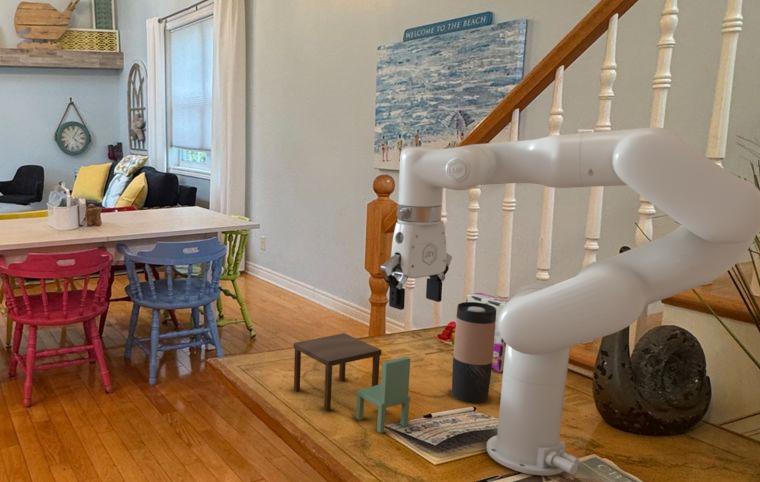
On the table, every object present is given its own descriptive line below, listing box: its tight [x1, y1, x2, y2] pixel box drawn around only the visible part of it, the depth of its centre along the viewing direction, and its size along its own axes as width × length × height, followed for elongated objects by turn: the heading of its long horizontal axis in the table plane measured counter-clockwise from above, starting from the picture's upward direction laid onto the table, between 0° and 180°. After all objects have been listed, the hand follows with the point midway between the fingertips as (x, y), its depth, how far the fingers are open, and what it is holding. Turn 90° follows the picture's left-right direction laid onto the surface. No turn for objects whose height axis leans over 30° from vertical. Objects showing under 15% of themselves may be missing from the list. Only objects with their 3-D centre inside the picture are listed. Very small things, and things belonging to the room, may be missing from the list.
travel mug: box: [451, 301, 496, 404], centre depth 135 cm, size 8×8×20 cm
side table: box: [293, 332, 382, 412], centre depth 138 cm, size 12×14×11 cm
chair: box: [355, 356, 411, 434], centre depth 124 cm, size 7×7×14 cm
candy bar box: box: [465, 292, 509, 373], centre depth 153 cm, size 11×5×16 cm, turn 25°
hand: (415, 304), depth 120 cm, fingers open, 9 cm apart
